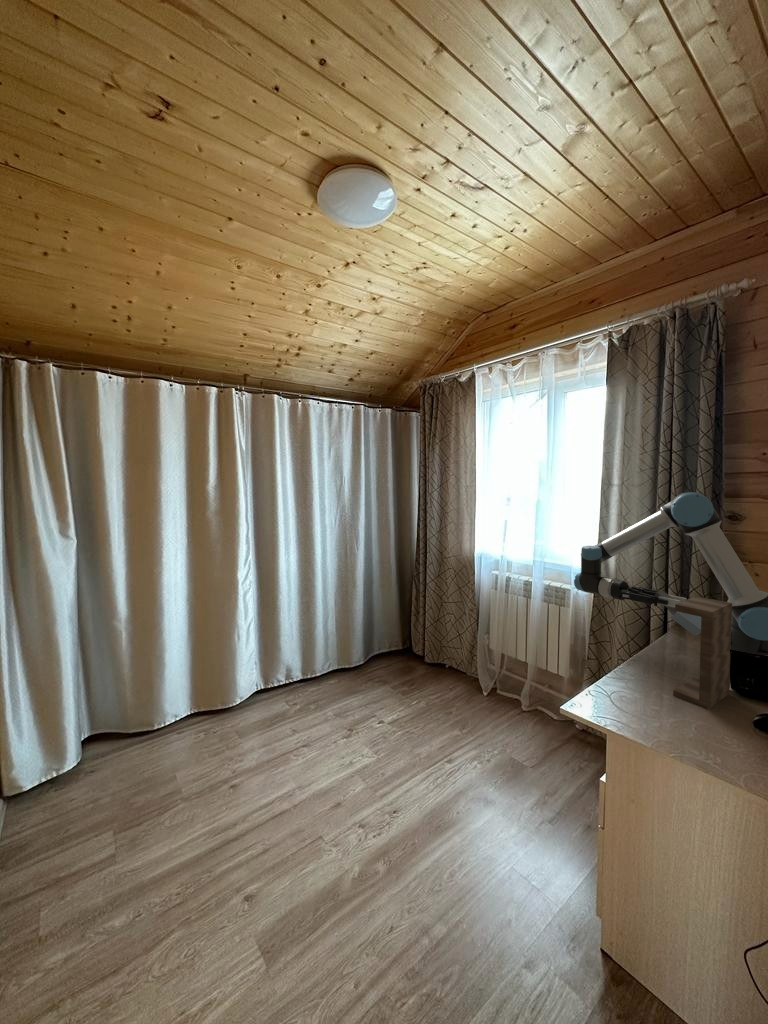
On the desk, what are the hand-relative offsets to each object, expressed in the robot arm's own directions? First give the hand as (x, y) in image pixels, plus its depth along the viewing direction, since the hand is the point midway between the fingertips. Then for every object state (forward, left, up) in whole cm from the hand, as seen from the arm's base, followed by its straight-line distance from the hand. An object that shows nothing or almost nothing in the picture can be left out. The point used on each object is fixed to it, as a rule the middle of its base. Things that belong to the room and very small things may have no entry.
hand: (682, 603), depth 138 cm
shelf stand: (+18, +12, -22) cm, 31 cm away
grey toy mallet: (0, -1, -4) cm, 4 cm away
